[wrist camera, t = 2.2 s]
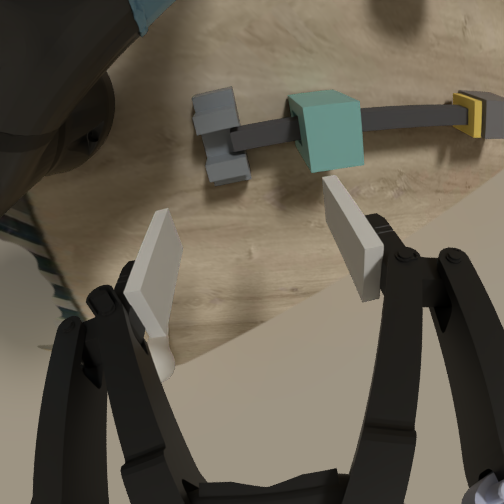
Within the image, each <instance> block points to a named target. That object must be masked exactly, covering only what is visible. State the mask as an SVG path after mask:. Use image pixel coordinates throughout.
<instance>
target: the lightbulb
mask: <svg viewBox="0 0 504 504" xmlns="http://www.w3.org/2000/svg"><path fill="white" fill-rule="evenodd" d="M168 333H169V327H168V329H167V335H166V336H164V337H155V338H150V336H149V339H148V341H147V344H148V347H149V350H150V353H151V356H152V359H153V362H154V364H155V367H156V370H157V373H158V376H159V378H160V381H161V383H162V382H164V381H166V380H168V379H169V378H170V377H171V376H172V374H173V372H174V369H175V359H174V356H173V354H172V352H171V350H170V347H169V336H168Z"/></svg>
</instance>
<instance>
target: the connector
mask: <svg viewBox="0 0 504 504" xmlns="http://www.w3.org/2000/svg"><path fill="white" fill-rule="evenodd" d="M459 94H463V95H466V96H468V97H471V98H474V99H477V100H479V101H482V122H481V137H482V138H484V139H504V97H501V96H498V95H496V94H493V93H490V92H479V91H463V90H459Z"/></svg>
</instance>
